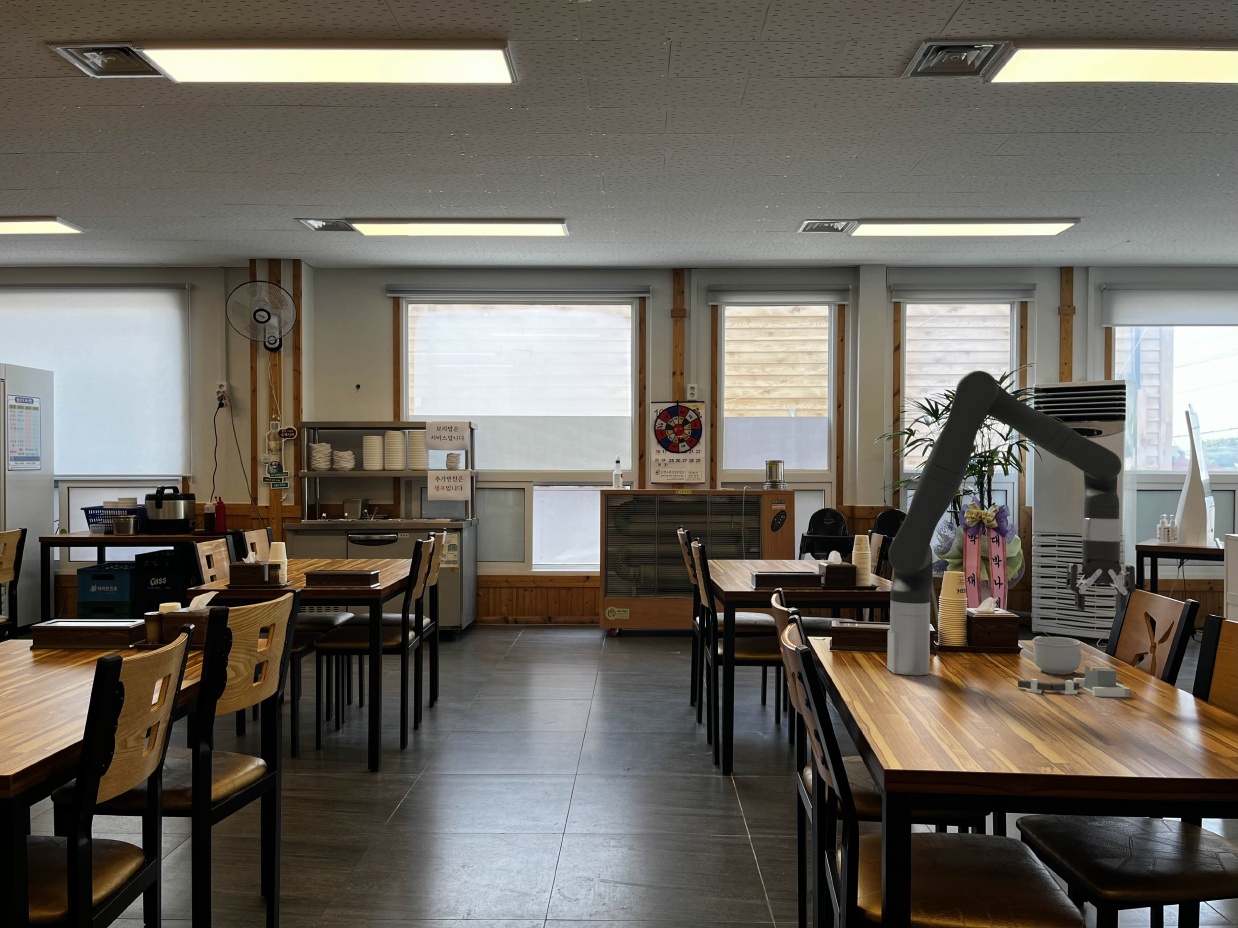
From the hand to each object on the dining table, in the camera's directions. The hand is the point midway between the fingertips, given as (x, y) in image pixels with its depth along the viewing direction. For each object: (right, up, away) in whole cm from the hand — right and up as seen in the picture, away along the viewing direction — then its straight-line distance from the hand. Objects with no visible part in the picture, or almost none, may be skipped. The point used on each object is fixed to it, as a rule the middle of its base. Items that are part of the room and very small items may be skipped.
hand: (1100, 610), depth 204 cm
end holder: (0, -18, 0) cm, 18 cm away
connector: (0, -18, 0) cm, 18 cm away
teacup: (0, -19, +22) cm, 28 cm away
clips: (-12, -18, -1) cm, 22 cm away
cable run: (-12, -18, -1) cm, 22 cm away
